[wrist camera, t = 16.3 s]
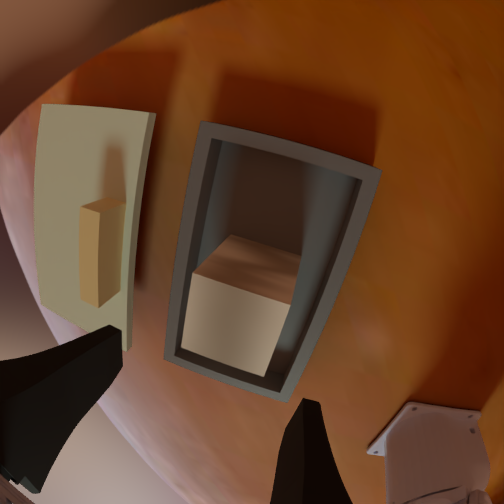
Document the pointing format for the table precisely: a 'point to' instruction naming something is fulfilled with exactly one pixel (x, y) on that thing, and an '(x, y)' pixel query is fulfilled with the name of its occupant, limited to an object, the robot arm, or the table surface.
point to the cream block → (240, 303)
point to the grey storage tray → (270, 237)
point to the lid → (89, 211)
